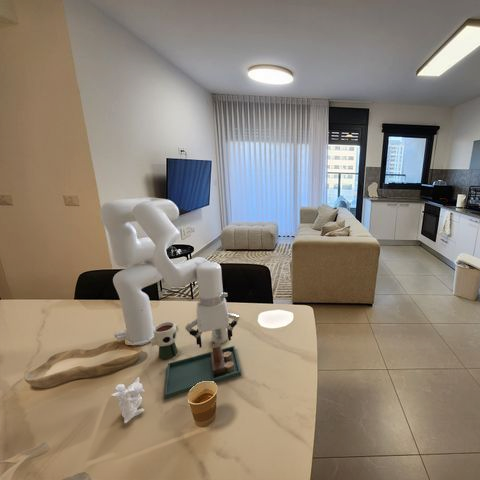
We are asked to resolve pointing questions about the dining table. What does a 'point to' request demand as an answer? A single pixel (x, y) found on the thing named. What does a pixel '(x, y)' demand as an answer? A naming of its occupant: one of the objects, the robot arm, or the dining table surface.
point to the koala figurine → (129, 399)
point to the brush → (217, 360)
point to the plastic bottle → (219, 335)
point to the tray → (196, 372)
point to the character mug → (165, 339)
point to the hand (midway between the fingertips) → (215, 341)
